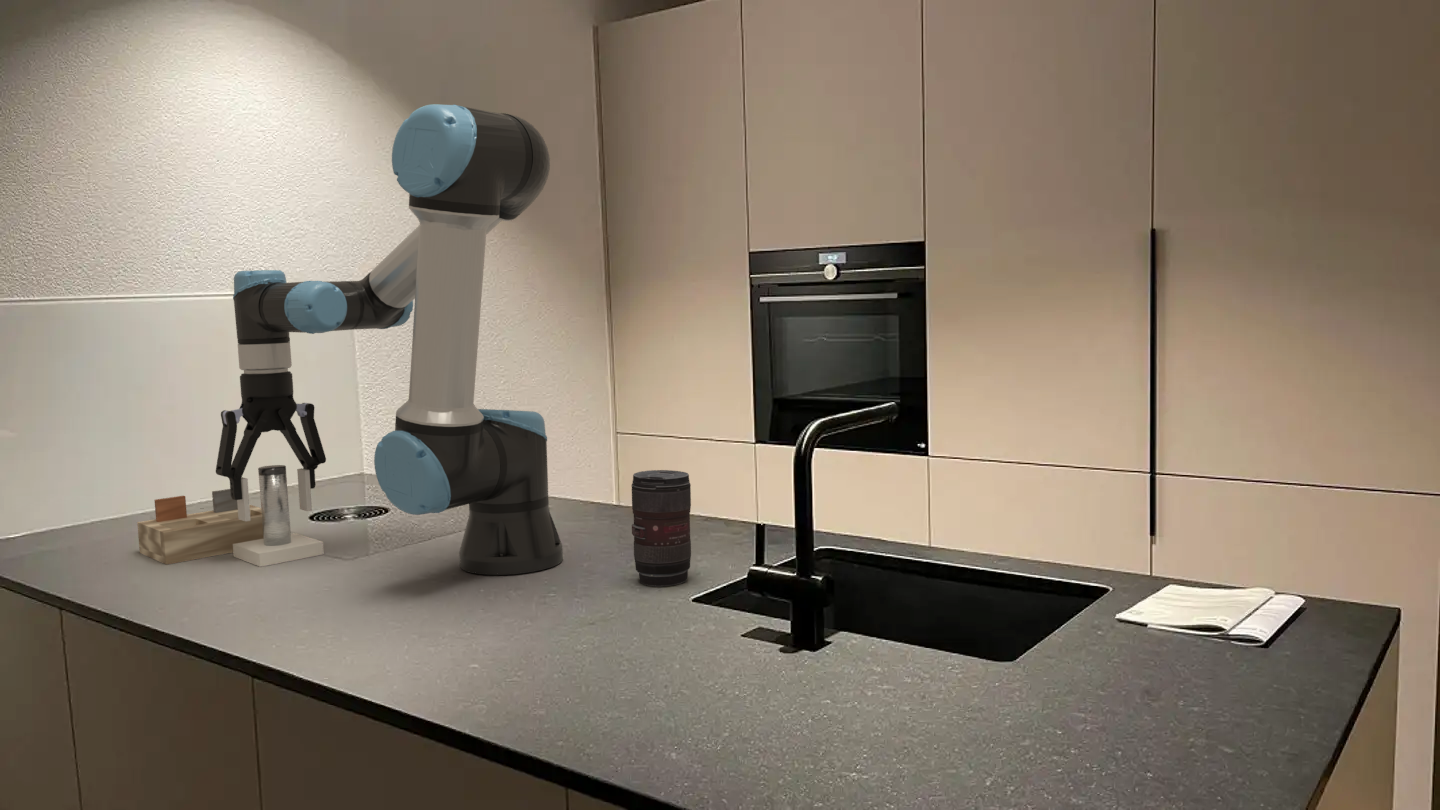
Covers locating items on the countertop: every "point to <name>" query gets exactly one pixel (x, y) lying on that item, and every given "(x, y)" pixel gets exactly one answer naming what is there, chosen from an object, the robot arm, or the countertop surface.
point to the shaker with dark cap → (274, 505)
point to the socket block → (196, 529)
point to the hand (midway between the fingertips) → (275, 514)
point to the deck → (277, 550)
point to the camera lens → (661, 526)
